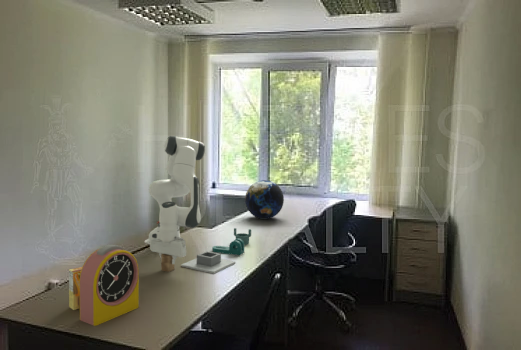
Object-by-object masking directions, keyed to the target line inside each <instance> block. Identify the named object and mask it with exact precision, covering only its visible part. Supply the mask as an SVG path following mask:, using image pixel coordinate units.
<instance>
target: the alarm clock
mask: <svg viewBox="0 0 521 350" xmlns="http://www.w3.org/2000/svg"><path fill="white" fill-rule="evenodd" d="M81 267H82V270H81V273H80V280H79V290H80V308H79V321H81V322H84V323H85V324H89V325H91V326H94V327H95V326H99V325H101V324H104V323H106V322H108V321H110V320H113V319H115V318H118V317H120V316H122V315H125V314H127V313H128V312H132V311H134V310H136V309H139V307H140V306H139V304H140V303H139V301H140V300H139V299H140V298H139V297H140V296H139V289H140V286H139V285H140V278H139V277H140V276H139V275H140V274H139V270H140V269H139V264H138V261H137V258H136V257H135V256H134V254H132V252H130V251H128V250H125V249H124V248H123V246H121V245H117V244H106V245H104V246H102V247H100V248H97V249H96V250H95V251H93V252H92V253H91V254H90V255H89V256H88V257H87V258H86V260H85V262H84V263H83V265H82V266H81Z"/></svg>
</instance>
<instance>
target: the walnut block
mask: <svg viewBox="0 0 521 350" xmlns="http://www.w3.org/2000/svg"><path fill="white" fill-rule="evenodd" d="M172 259H173V258H172V255H167V254H162V255H161V258H160V264H161V265H160V266H161V267H160V270H161V271H162V272H166V273H169V272H172V271H174V270H175V264H171V262H170V261H171V260H172Z"/></svg>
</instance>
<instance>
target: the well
mask: <svg viewBox="0 0 521 350" xmlns="http://www.w3.org/2000/svg"><path fill="white" fill-rule="evenodd" d="M235 264H236V261H234V260H229V259H226V258H222V253H217V252H213V251H208V250H206V251H203V252H201V253H199V254H196V257H195V258H194V259H191V260H189V261H187V262H186V261H185V262H184V263H182V264H180V266H181V267H182V268H187V269H191V270H194V271H195V270H196V271H200V272H204V273H208V274H209V273H210V274H213V275H214V274H216V273H219V272H220V271H222V270H224V269H226V268H228V267H231V266H233V265H235Z"/></svg>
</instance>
